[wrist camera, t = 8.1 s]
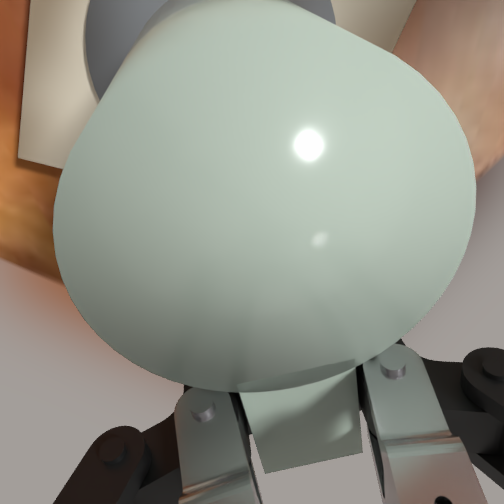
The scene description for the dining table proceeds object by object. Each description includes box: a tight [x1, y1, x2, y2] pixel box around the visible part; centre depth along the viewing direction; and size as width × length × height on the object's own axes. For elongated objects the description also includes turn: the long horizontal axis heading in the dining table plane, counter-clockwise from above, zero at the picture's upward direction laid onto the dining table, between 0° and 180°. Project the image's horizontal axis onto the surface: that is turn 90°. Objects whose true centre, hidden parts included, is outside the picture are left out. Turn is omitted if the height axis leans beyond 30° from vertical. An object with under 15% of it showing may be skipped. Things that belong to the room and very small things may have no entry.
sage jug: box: [53, 0, 476, 474], centre depth 13 cm, size 10×7×10 cm
